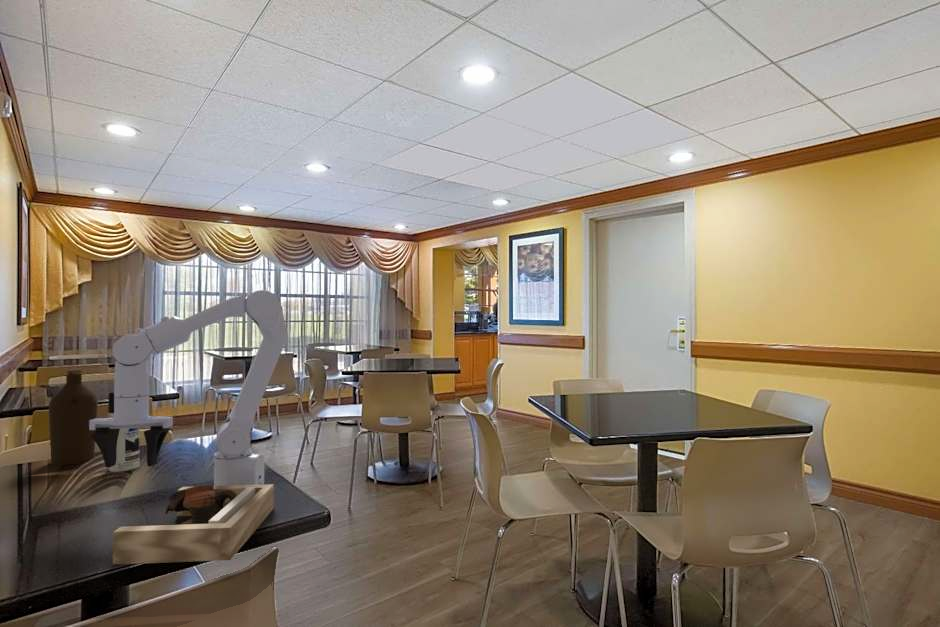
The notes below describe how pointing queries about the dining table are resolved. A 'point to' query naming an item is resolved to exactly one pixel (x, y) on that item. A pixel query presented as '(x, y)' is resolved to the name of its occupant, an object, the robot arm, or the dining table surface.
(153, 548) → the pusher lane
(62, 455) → the olive oil
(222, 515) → the pusher plate
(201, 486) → the pottery mug
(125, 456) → the spray can
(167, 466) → the dining table surface
